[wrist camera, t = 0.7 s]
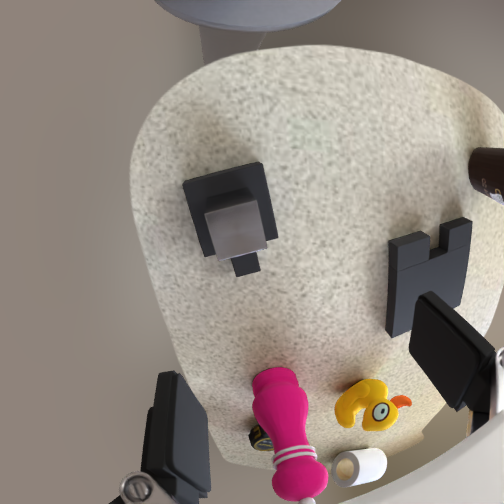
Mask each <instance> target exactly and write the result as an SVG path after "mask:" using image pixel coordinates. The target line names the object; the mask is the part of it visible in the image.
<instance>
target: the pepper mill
mask: <svg viewBox="0 0 504 504" xmlns="http://www.w3.org/2000/svg"><path fill="white" fill-rule="evenodd" d="M252 387H253V393H254V396H255V399H254V401H253V404H252V409H253V412H254V416H255V418H256V420H257V421H258V423H259V424H260V426H261V427H262V428H263V429H264V430H265V432H266V433H267V434H268V436H269V437H270V439H271V441H272V443H273V447H274V452H275V455H273V457H272V462H273V468H274V469H276V470H277V471H276V473H275V474H274V476H273V478H272V486H273V489H274V491H275V493H276V494H277V495H278V496H279V497H280V498H282V499H284V500H288V501H299V503H298V504H315V500H314V499H313V497H315V496H317V495H318V494H320V493H321V492H322V491H323V490H324V489H325V487H326V485H327V482H328V473H327V470H326V468H325V467H324V465H323V464H321V463H319V462H317V461H316V459H317V454H316V453H315V448H314V447H312V446H310V445H309V443H308V441H307V437H306V433H305V424H306V418H307V414H308V400H307V395H306V393H305V392H304V390H303V389H301V388H300V387H299V384H298V381H297V378H296V375H295V373H294V372H293V371H292V370H290V369H287V368H282V367H276V368H271V369H268V370H265V371H263V372H261V373H260V374H258V375H257V376H256V377H255V378H254V380H253V383H252Z"/></svg>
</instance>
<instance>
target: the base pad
mask: <svg viewBox="0 0 504 504" xmlns="http://www.w3.org/2000/svg"><path fill="white" fill-rule="evenodd" d="M472 222H473V221H471V220H469V219H466V218H464V217H462V218H459V219H456V220H453V221H450V222H446V223H443V224H440V235H439V247H437V248H434V249H432V250H430V236H429V235H427V234H425V233H424V232H422V231H419V232H415V233H412V234H409V235H406V236H402V237H399V238H396V239H393V240H389V277H388V301H387V316H386V328H385V331H386V332H387V333H388V334H389V336H390V337H391V338H394V337H396V336H398V335H401V334H403V333H405V332H407V331H410V330H412V324H413V317H414V310H415V303H416V301H417V300H418V297H419V296H420V295H422V294H424V293H426V292H428V291H433V292H434V293H436V294H437V295H438V296H439V297H440V298H441V299H443V300H444V301H445V302H446V303H447V304H448V305H449V306H450V307H452V308H453V309H454V308H455V307H457V306H459V305H460V303H461V298H462V294H463V289H464V284H465V278H466V272H467V266H468V259H469V252H470V243H471V234H472Z"/></svg>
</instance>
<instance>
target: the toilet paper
mask: <svg viewBox="0 0 504 504" xmlns="http://www.w3.org/2000/svg"><path fill="white" fill-rule="evenodd" d="M386 467H387V459H386V456H385V454H384V452H383V451H382V450H380V449H378V448H370V449H362V450H354V451H345V452H341V453H340V454H338V455H337V456H336V458H335V459H334V461H333V464H332V468H331V473H332V478H333V480H334V482H335V483H336V484H337V485H338V486H340V487H349V486H354V485H358V484H363V483H367V482H371V481H375V480H377V479H379V478H380V477H381V476H382V475H383V474H384V472H385V470H386Z"/></svg>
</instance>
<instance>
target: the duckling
mask: <svg viewBox="0 0 504 504" xmlns="http://www.w3.org/2000/svg"><path fill="white" fill-rule="evenodd" d="M387 395H388V388H387V386H386V385H385V383H383V382H382V381H380V380H377V379H364V380H362V381H360V382H358V383H357V384H355V385H353V386H352V387H351V388H349V389H348V390H347V391H345V392H344V393H343V395H342V396H341V397H340V398H339V399H338V400H337V402H336V404H335V415H336V419H337V421H338V423H339V424H340V425H341V426H343V427H345V428H351V427H353V426H354V424H355V415H356V414H357V413H358V412H359V411H360V410H361V409H362V408H366V410H365V412H364V415H363V422H362V427H363V429H364V430H365V431H383V430H386V429H388V428H390V427H391V426H392V425H393V424H394V423H395V422H396V420H397V418H398V408H400V407H403V406H411V405H412V402H411V400H410V399H409V398H408V397H406V396H404V395H400V396H395V397H393V398H392V399H391V400H390V401H389V400H387Z"/></svg>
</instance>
